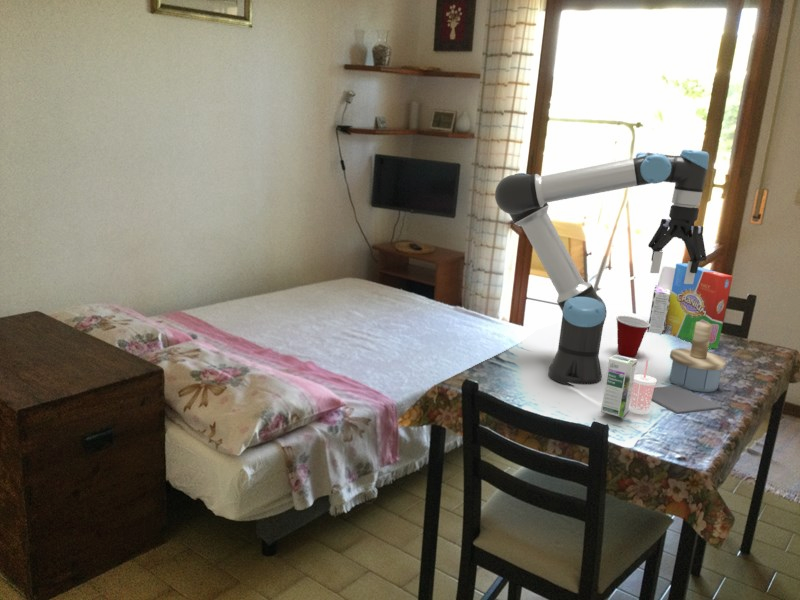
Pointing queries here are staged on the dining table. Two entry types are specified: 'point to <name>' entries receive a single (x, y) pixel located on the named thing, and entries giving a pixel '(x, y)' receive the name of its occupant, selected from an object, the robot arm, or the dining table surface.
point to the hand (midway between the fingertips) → (670, 278)
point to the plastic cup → (630, 334)
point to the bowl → (694, 378)
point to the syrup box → (618, 385)
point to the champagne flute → (666, 278)
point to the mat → (681, 400)
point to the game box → (697, 303)
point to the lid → (699, 351)
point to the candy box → (659, 310)
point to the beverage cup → (642, 392)
